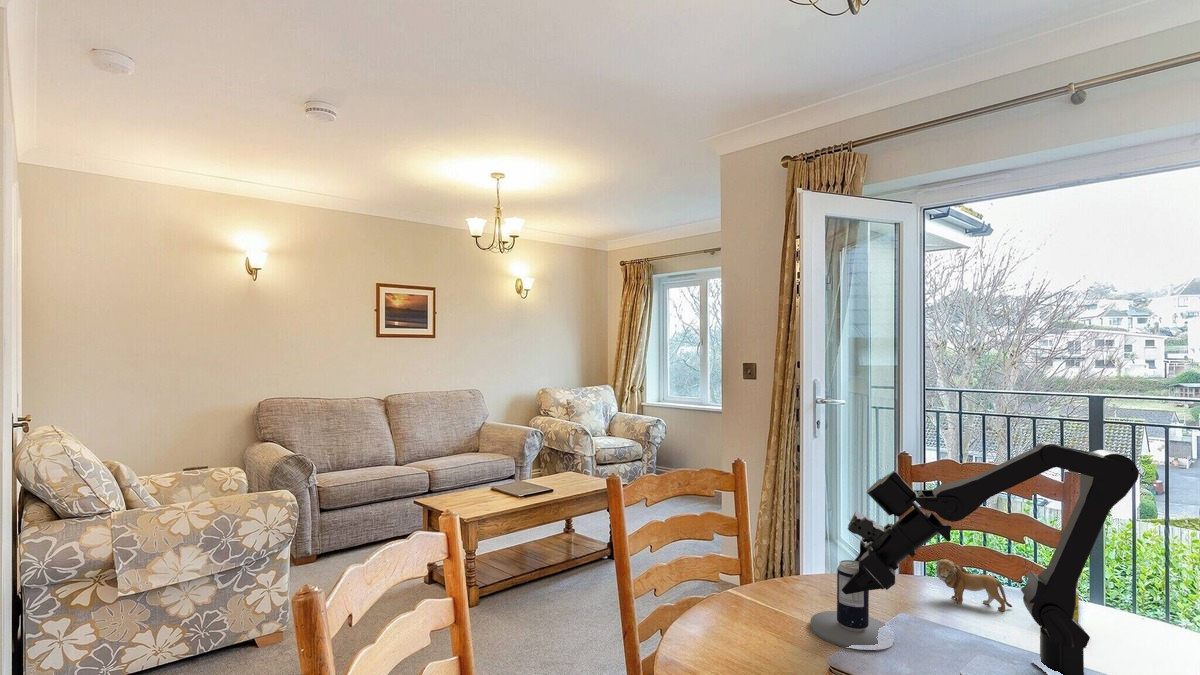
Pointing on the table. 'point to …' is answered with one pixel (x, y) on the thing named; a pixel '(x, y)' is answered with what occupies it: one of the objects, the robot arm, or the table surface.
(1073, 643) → the robot arm
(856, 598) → the beverage can
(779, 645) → the table surface
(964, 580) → the lion figurine
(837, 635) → the gray smooth stone
